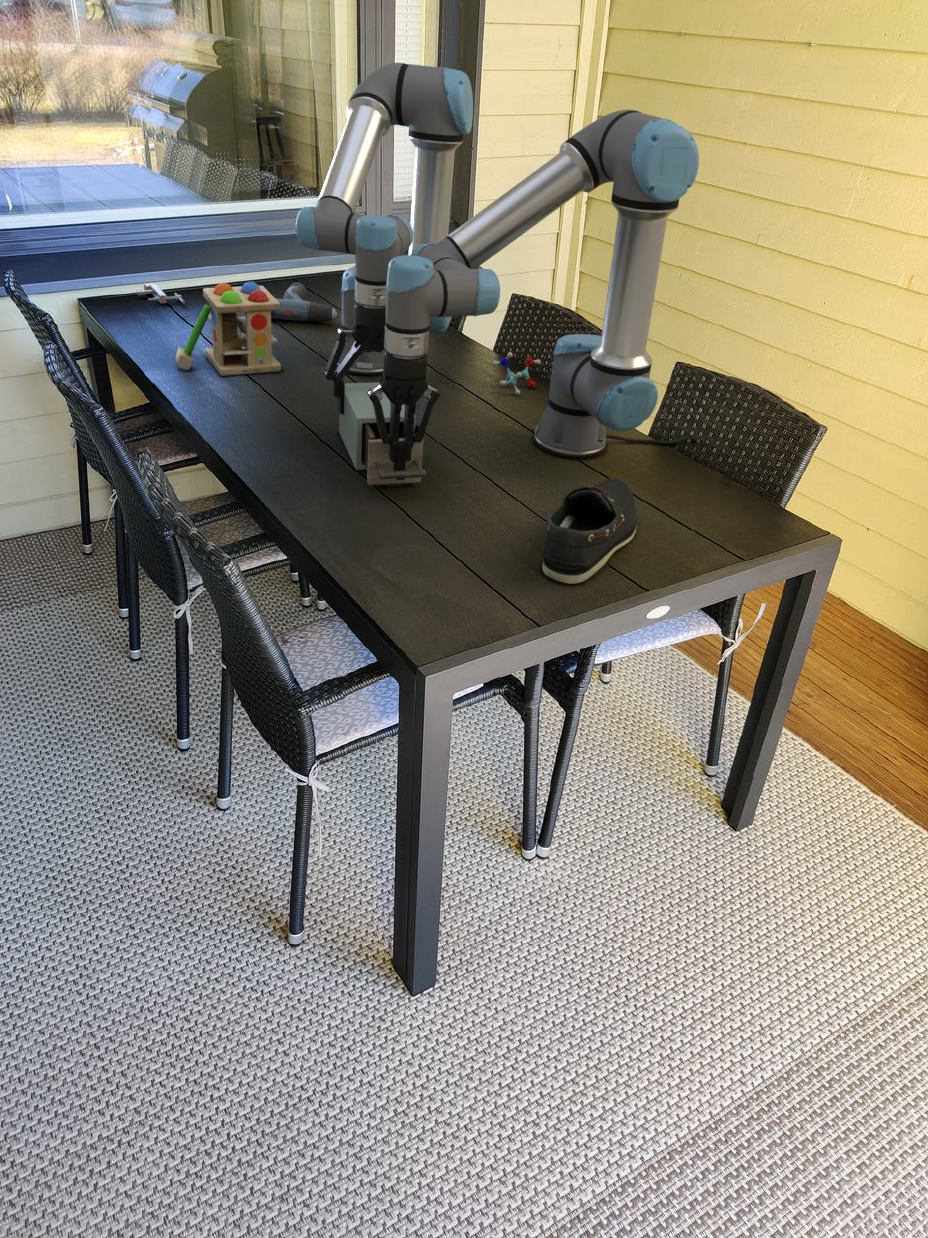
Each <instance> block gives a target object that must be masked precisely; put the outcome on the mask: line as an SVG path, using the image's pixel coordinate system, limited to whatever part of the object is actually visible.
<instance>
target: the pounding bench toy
mask: <svg viewBox="0 0 928 1238" xmlns="http://www.w3.org/2000/svg"><path fill="white" fill-rule="evenodd" d="M202 296H203V298H204V299H205V300H206V301H207V302H208V304H209V305H208V304H204V305H203V307H202V309H201V312H200V313H199V316H198V318H197V320H196V322H195V324H194V327H193V329H192V331H191V332H190V333H191V334H190V336H189V338H188V340H187V343H186V344H185V347H184V348H182V347H180V346H179V347H178V349H177V351H176V354H175V357H174V358H175V362H176V365H177V366H178V368H179V369H182V370H185V371H189V370H190V369H191V367H192V365H193V363H194V356H193V351H194V348H195V347H196V345H197V342H198V340H199V337H200V336H201V333H202V332H203V329H204V326H205V325H206V322H207V320H209V321H210V322H211V336H212V337H211V338H212V339H211V340H212V348H205V349H204V352H205V353H204V355H205V357H206V359H208V361H209V363H210V364H211V365H212V366H213V367H214V369H215V370H216V371H217V372H218V374H219V375H220V376H222V377H223V376H234V375H235V376H236V375H246V374H247V375H250V374H262V373H275V372H281V370H282V364H281V363H280V362H279V360H278V359H277V358H276V357H275V356H274V355H273V348H272V347H273V345H272V344H276V343H278V342H279V341H278V339H277V338H276V337H275V336H274V334H272V318H271V310H280V303H279V302H278V301H277V300H276V299H277V298H276V297H274V296H273V295H272V294H271V293H270V292H269V290H268V289H267V288H266V287H264V285H259V284H257V283H256V282H255V281H247V282H245V283H244V284H243V285H242V286H232V285H230V284H229V283H226V282H221V283H218V284H217V285H216V286H215V287H204V288H203V289H202ZM238 313H244V314H245V315H244V316H238ZM238 329H239V331H240V333H239V334H238Z"/></svg>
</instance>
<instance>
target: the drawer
mask: <svg viewBox="0 0 928 1238" xmlns="http://www.w3.org/2000/svg"><path fill="white" fill-rule="evenodd" d="M385 423H386V428H387V433H388V435H389V432H390V422H385ZM403 432H404V422H400V429H399V441H403V442H404V439H403ZM424 441H425V440H424V439H423V440H422V441H421V442H419V443H418V442H416V443H414V446H413V447H412V451H411V460H410V461H406V464H405V471H393V470H394V462H391V460H390V458H389V444H384V443H383V442H382V440H381V438H380V435H379V431H378V426H377V423H362V453H361V458H362V460H363V462H364V464H365V466H366V469H367V470H366V472H367V473H366V474H367V475H366V483H367V486H374V485H375V486H376V485H395V484H410V483H411V484H412V483H421V482H422V478H425V477H426V475H427V473H426V472H427V471H426V469H423V459H424V458H423V457H424V456H423V455H424ZM397 478H405V480H396V479H397Z"/></svg>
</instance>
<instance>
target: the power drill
mask: <svg viewBox="0 0 928 1238" xmlns="http://www.w3.org/2000/svg"><path fill="white" fill-rule="evenodd" d="M307 295H308V290H307V287H306V285H304V284H303V283H301V282H293V283H292V284H291V285H290V286H289V287H288V288H287V289H286V291H285V292H284V294H283V297H282V298H275V299H276V300H277V301H278V302H279V303H280V310H271V319H274V320H275V319H276V320H283V321H294V322H295V321H297V322H332V321H333V320H334V319H336V318H337V317H338V312H337V311H336V308H334V307H333V306H332V305H331V304H324V303H317V302H313V301H307V300H305V299H306V297H307Z"/></svg>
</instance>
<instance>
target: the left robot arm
mask: <svg viewBox="0 0 928 1238" xmlns="http://www.w3.org/2000/svg"><path fill="white" fill-rule="evenodd" d="M345 114H346V115H345V117H346V119H347V121H346V124H345V126H344V128H343V131H342V133H341V137H340V139H339V141H338V145H337V147H336V151H335V153H334V156H333V158H332V160H331V164H330V166H329V169H328V171H327V175H326V178H325V180H324V182H323V185H322V188H321V191H320V194H319V197H318V198H317V202H316V205H315V206H303V207H302V208H301V209H299V211H298V213H297V216H296V220H295V221H296V222H295V234H296V238H297V241H298V243H299V244H300V246H302V247H304V248H308V249H312V250H317V251H320V252H321V251H323V252H331V253H332V252H333V253H341V254H347V255H353V256H355V257H354V259H355V265H354V266H351V267H349V268H346V270H345V271H344V272H343V274H342V281H341V287H340V292H341V319H340V321H341V324H340V325H341V326H340V327H339V328H337V330H336V341H335V343H334V345H333V348H332V351H331V353H330V356H329V358H328V361H327V363H326V365H325V368H324V372H323V374H324V376H325V379H326V380H327V381H331V382H332V393H333V395H334V398H337V410H338V413H339V415H340V414H344V393H345V381H344V378H345V376H346V375H347V374H352V375H356V376H380V375H381V376H382V375H383V360H384V352H385V351H386V350H385V349H384V338H385V320H386V283H387V273H388V267H389V263H390V261H391V260H392V259H393V258H395V257H398V256H403V255H406V254H407V253H408V254H407V255H410V254H411V253H412V251H413V250H414V249H415V248H416V247H417V246H419V245H422V244H426V243H430V244H437V243H438V242H440V241H441V240H443V239H444V238H445V237H447V236H448V235H449V228H450V215H451V214H450V213H451V201H452V191H453V190H452V189H453V176H454V164H455V151H456V150H457V148H459V147H460V146H461V145H462V144H463V143H464V142H463V141H464V136H465V135H469V134H470V133H471V130H472V127H473V120H474V97H473V90H472V84H471V81H470V78H469V76H468V74H467V73H465V72H464V71H462V70H459V69H458V70H457V69H453V68H449V67H447V66H446V67H440V66H429V65H419V64H410V63H406V62H405V63H404V62H392V63H388V64H386V65H382V66H380V67H379V68H377V69H375V70H374V71H372V72H371V73H370V74H368V75H367V76H366V77H365V78H364V79H363V80H362V81H361V82H360V83H359V85H357V86H356V88H355V90H354V91H353V92H352V94H351V96H350V98H349V100H348V104H347V106H346V109H345ZM391 126H399V127H406V128H408V139H409V140H410V141H411V142H412V144H413V146H414V155H413V157H414V158H413V173H412V190H411V203H410V204H411V207H410V220H409V221H408V219H407V218H406V217H404V216H402V215H400V214H393V213H392V214H388V215H381V214H363V213H362V214H361V213H355V212H356V210H357V207H358V204H359V201H360V198H361V196H362V193H363V190H364V187H365V185H366V182H367V179H368V176H369V174H370V171H371V167H372V165H373V162H374V159H375V156H376V154H377V151H378V148H379V145H380V143H381V140H382V137H384V136H385V135H387V134H388V133H389V131H390V129H391ZM452 318H453V317H431V318H430V328H429V333H430V334H431V333H432V334H442V333H444V332H446V330H447V329H448V328H449V325H450V323H451V321H452Z"/></svg>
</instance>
